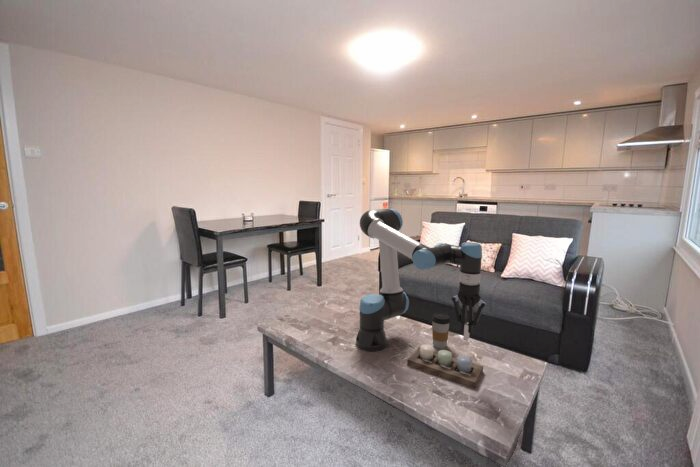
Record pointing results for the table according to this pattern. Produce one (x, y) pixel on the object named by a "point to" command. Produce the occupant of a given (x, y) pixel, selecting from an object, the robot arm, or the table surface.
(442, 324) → the coffee cup
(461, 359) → the pale blue rounded knob
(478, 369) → the wooden tray
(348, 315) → the table surface
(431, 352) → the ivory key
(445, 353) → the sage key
